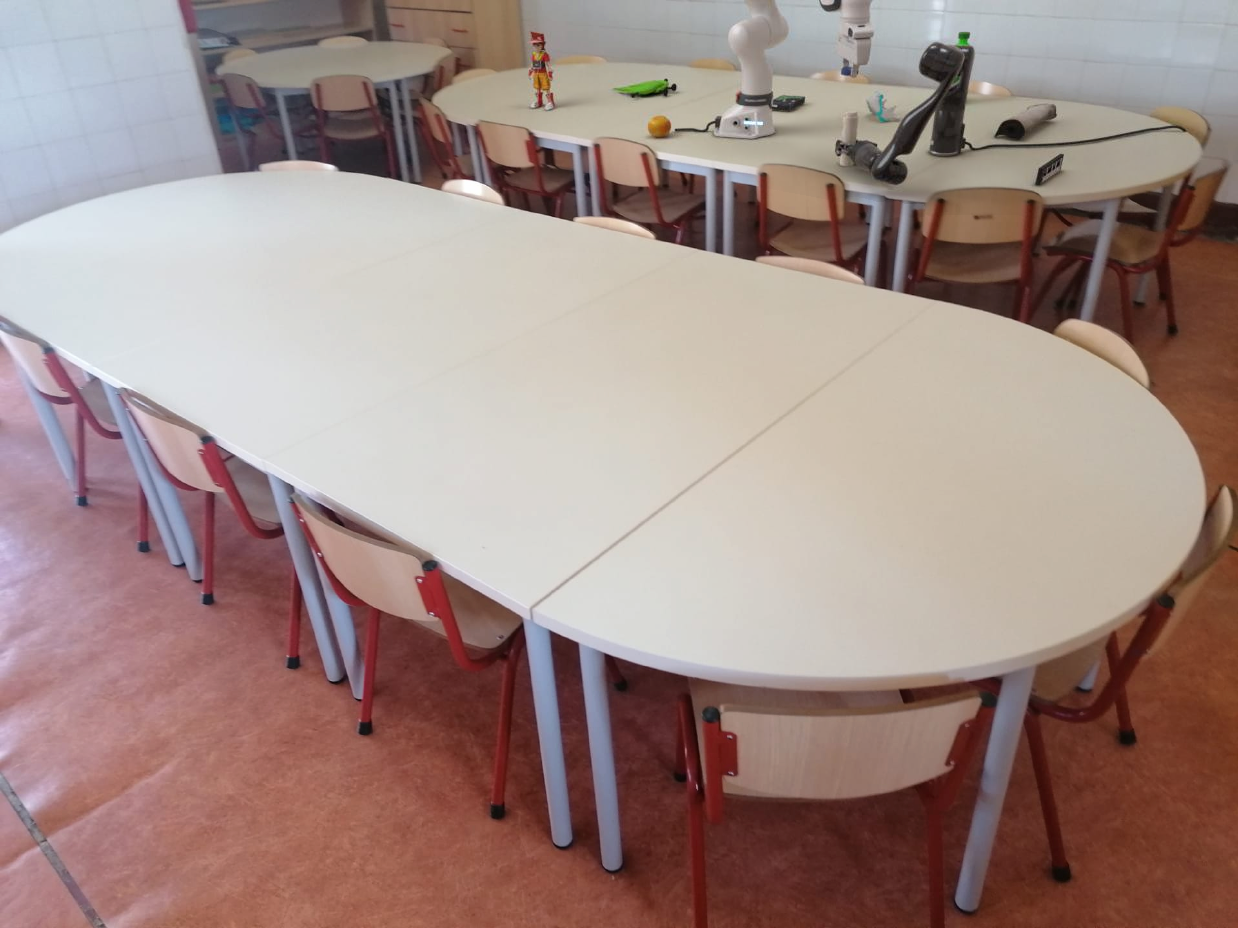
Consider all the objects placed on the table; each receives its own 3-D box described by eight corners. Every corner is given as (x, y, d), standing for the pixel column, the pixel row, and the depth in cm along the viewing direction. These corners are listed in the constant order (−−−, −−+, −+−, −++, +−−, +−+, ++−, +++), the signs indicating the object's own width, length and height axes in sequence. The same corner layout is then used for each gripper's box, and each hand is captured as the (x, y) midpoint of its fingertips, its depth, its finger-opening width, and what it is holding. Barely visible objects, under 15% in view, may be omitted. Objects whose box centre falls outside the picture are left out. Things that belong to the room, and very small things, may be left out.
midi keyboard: (1039, 185, 269) (1043, 168, 266) (1035, 184, 270) (1038, 168, 267) (1060, 170, 279) (1064, 154, 277) (1056, 169, 280) (1060, 153, 277)
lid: (848, 71, 285) (849, 66, 284) (861, 74, 281) (862, 68, 281) (837, 74, 282) (837, 69, 282) (850, 76, 279) (850, 71, 278)
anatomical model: (861, 90, 342) (887, 83, 342) (863, 118, 348) (889, 111, 348) (873, 100, 330) (900, 92, 329) (875, 128, 336) (902, 121, 335)
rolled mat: (1024, 108, 329) (1048, 91, 321) (1038, 129, 330) (1062, 112, 321) (990, 131, 312) (1014, 113, 304) (1004, 153, 312) (1029, 136, 304)
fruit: (641, 128, 333) (652, 109, 330) (648, 131, 340) (659, 112, 337) (658, 141, 331) (670, 121, 328) (665, 143, 339) (677, 124, 336)
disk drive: (790, 112, 355) (805, 103, 365) (791, 105, 353) (805, 96, 363) (766, 110, 360) (781, 101, 370) (766, 103, 358) (781, 94, 368)
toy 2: (686, 85, 398) (631, 84, 414) (685, 72, 395) (629, 72, 411) (651, 104, 381) (596, 103, 397) (650, 92, 378) (594, 91, 394)
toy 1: (525, 109, 381) (517, 32, 364) (534, 104, 388) (527, 28, 371) (550, 110, 377) (543, 32, 360) (559, 105, 384) (553, 28, 367)
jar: (846, 167, 294) (850, 114, 285) (836, 163, 298) (841, 111, 288) (857, 164, 296) (862, 112, 286) (847, 161, 299) (852, 109, 290)
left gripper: (832, 22, 282) (828, 69, 290) (855, 33, 266) (850, 83, 274) (852, 20, 283) (847, 67, 291) (876, 32, 266) (870, 81, 274)
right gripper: (889, 141, 280) (866, 128, 294) (846, 146, 278) (825, 132, 292) (886, 165, 285) (864, 151, 298) (844, 170, 283) (823, 156, 297)
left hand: (849, 75), depth 282 cm, fingers closed on lid, 5 cm apart
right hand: (845, 142), depth 295 cm, fingers closed on jar, 4 cm apart
